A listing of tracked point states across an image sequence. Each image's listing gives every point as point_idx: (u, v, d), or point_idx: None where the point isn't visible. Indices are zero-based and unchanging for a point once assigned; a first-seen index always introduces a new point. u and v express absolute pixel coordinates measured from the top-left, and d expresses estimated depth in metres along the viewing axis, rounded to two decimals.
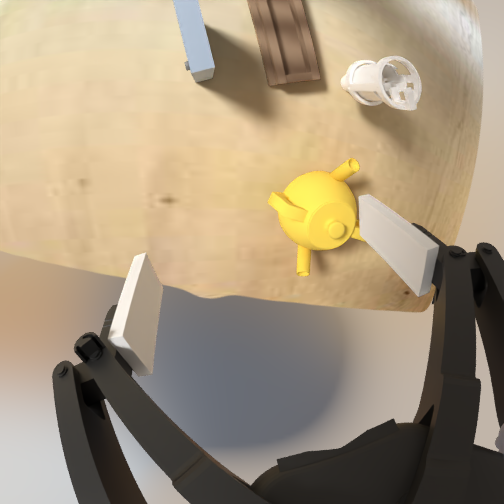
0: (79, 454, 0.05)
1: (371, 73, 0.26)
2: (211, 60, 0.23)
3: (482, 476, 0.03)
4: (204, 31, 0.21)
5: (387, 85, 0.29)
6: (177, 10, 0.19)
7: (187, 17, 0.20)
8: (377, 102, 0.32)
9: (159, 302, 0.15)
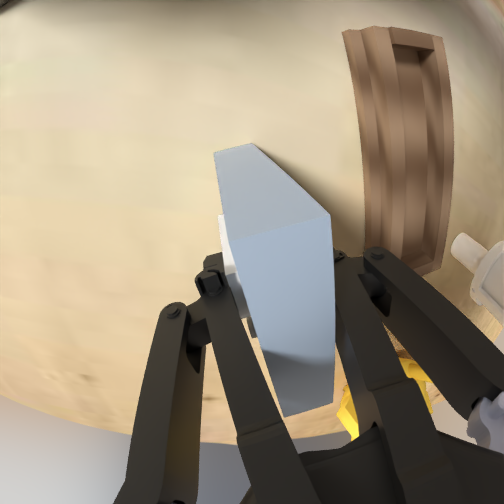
0: (156, 405, 0.07)
1: None
2: (329, 396, 0.11)
3: (482, 476, 0.03)
4: (331, 353, 0.09)
5: None
6: (253, 301, 0.07)
7: (290, 324, 0.08)
8: None
9: None
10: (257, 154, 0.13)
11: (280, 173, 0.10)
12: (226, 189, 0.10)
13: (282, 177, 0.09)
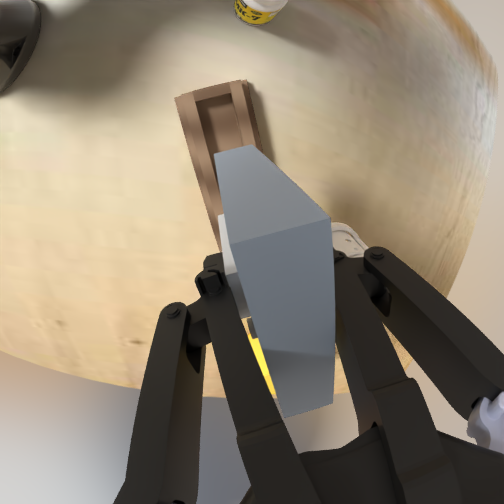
0: (157, 405, 0.07)
1: None
2: (329, 397, 0.11)
3: (482, 476, 0.03)
4: (331, 355, 0.09)
5: None
6: (254, 303, 0.07)
7: (290, 326, 0.08)
8: None
9: None
10: (257, 155, 0.13)
11: (280, 175, 0.10)
12: (227, 191, 0.10)
13: (282, 179, 0.10)
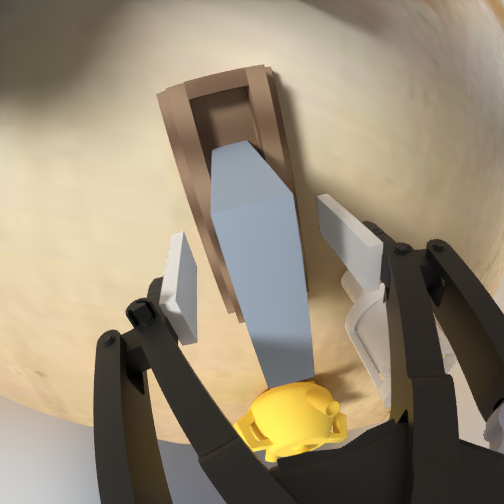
0: (110, 428, 0.06)
1: (383, 359, 0.18)
2: (310, 369, 0.13)
3: (482, 476, 0.03)
4: (306, 322, 0.11)
5: None
6: (232, 266, 0.09)
7: (265, 290, 0.10)
8: None
9: (195, 278, 0.16)
10: (249, 149, 0.15)
11: (263, 164, 0.12)
12: (217, 178, 0.11)
13: (264, 167, 0.11)
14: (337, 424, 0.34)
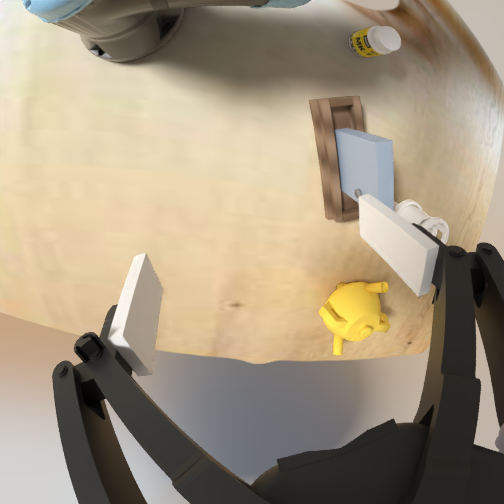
0: (79, 454, 0.05)
1: None
2: (392, 209, 0.32)
3: (482, 476, 0.03)
4: (393, 183, 0.31)
5: None
6: (378, 158, 0.29)
7: (384, 167, 0.29)
8: None
9: (159, 302, 0.15)
10: (357, 131, 0.35)
11: (373, 135, 0.31)
12: (361, 137, 0.31)
13: (374, 135, 0.31)
14: (381, 319, 0.53)
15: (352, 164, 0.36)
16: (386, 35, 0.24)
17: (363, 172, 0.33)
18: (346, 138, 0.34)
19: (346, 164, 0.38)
